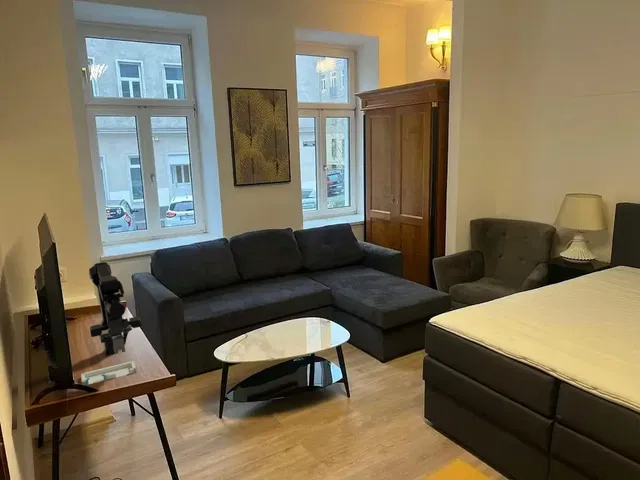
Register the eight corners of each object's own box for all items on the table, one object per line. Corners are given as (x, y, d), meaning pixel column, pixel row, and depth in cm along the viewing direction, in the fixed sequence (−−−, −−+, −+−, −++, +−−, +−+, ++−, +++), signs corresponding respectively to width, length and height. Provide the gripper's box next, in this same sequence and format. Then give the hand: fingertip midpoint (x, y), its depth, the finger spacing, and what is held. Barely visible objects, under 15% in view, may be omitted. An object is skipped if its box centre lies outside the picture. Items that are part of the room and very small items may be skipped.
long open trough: (81, 378, 188) (80, 371, 187) (134, 365, 197) (133, 358, 196) (82, 387, 180) (81, 380, 180) (136, 373, 190) (135, 366, 189)
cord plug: (113, 350, 190) (111, 336, 188) (124, 348, 191) (122, 334, 190) (116, 359, 181) (113, 345, 180) (126, 357, 183) (124, 343, 182)
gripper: (88, 321, 174) (94, 359, 177) (140, 311, 182) (145, 347, 186) (87, 312, 183) (93, 348, 187) (137, 302, 192) (141, 337, 195)
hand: (118, 345), depth 188 cm, fingers closed on cord plug, 4 cm apart
